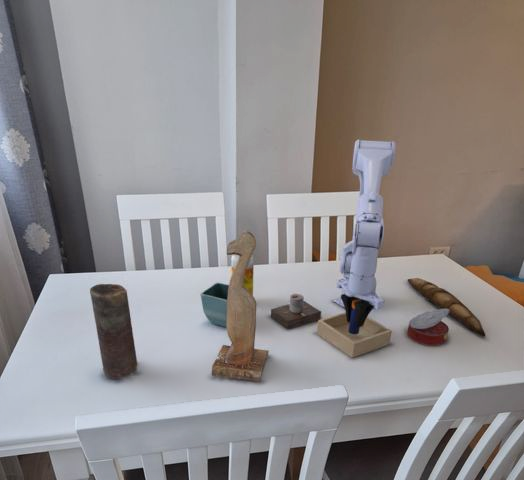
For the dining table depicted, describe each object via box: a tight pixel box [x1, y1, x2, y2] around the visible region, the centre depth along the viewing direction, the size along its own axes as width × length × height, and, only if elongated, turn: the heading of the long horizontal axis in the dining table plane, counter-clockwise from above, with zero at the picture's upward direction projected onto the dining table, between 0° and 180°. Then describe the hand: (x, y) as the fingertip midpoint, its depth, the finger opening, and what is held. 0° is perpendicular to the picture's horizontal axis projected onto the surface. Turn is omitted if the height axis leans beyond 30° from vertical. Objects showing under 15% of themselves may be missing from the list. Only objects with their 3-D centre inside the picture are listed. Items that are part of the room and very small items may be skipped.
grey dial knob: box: [289, 293, 305, 313], centre depth 128 cm, size 4×4×4 cm
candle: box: [89, 283, 138, 380], centre depth 101 cm, size 8×7×20 cm
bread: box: [407, 277, 486, 337], centre depth 137 cm, size 38×5×5 cm, turn 16°
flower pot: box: [200, 282, 229, 328], centre depth 125 cm, size 9×9×9 cm
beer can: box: [230, 254, 255, 296], centre depth 133 cm, size 6×6×15 cm
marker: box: [349, 299, 361, 334], centre depth 118 cm, size 3×3×8 cm
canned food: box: [406, 308, 450, 346], centre depth 122 cm, size 11×10×10 cm
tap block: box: [270, 300, 322, 330], centre depth 129 cm, size 11×8×3 cm
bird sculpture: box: [210, 230, 270, 382], centre depth 101 cm, size 11×12×32 cm
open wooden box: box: [316, 311, 393, 359], centre depth 120 cm, size 13×14×4 cm
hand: (354, 323), depth 119 cm, fingers closed on marker, 2 cm apart
